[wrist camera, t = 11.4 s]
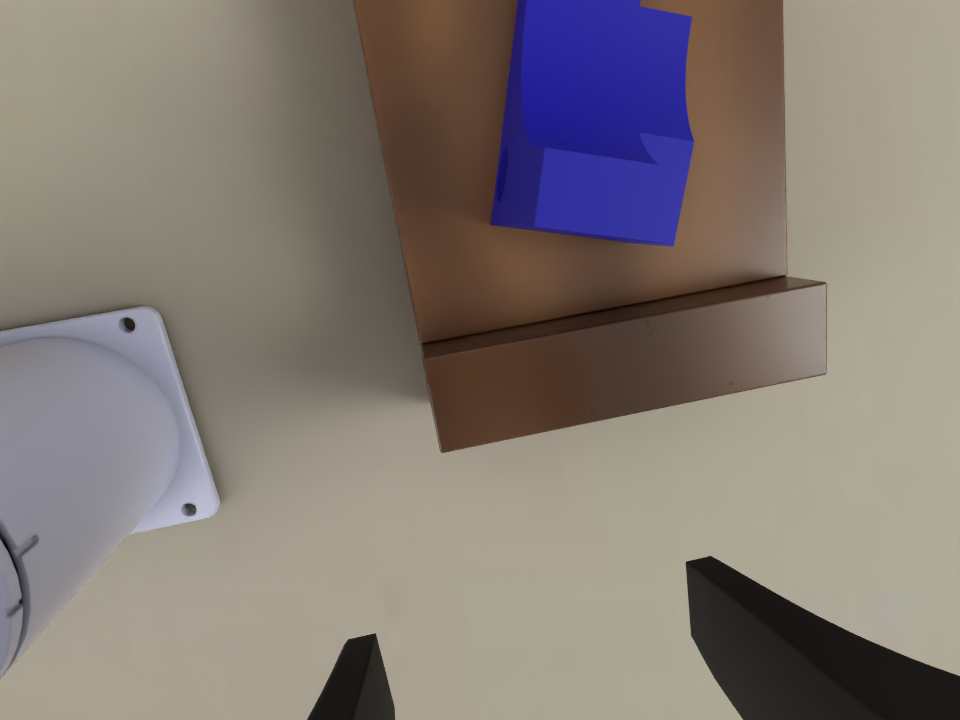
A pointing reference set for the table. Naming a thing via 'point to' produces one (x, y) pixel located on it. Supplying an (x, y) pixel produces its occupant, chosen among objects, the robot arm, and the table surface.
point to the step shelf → (582, 260)
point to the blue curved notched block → (595, 122)
